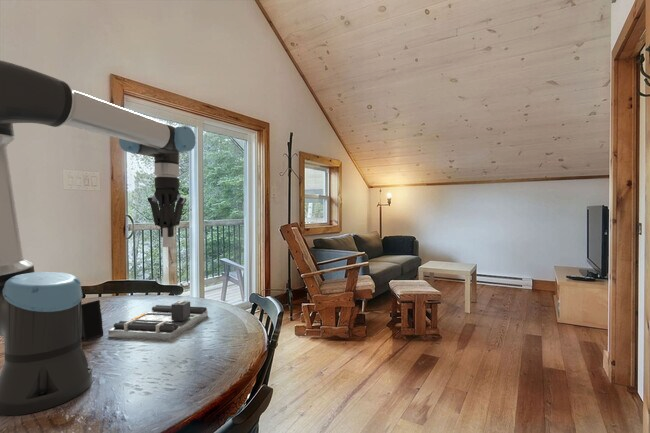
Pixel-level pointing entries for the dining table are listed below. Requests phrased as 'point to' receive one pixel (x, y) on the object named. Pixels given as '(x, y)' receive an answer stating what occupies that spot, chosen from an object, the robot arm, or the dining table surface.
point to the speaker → (91, 320)
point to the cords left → (146, 325)
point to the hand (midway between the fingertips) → (167, 246)
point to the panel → (157, 318)
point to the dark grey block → (180, 310)
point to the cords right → (168, 308)
